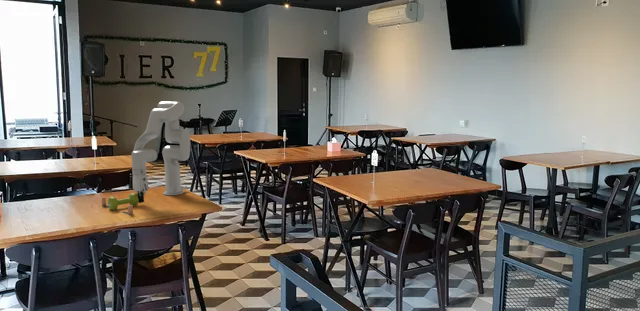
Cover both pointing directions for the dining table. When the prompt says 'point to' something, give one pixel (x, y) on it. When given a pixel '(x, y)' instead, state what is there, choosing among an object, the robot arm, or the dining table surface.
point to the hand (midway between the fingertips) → (140, 202)
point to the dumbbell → (123, 201)
